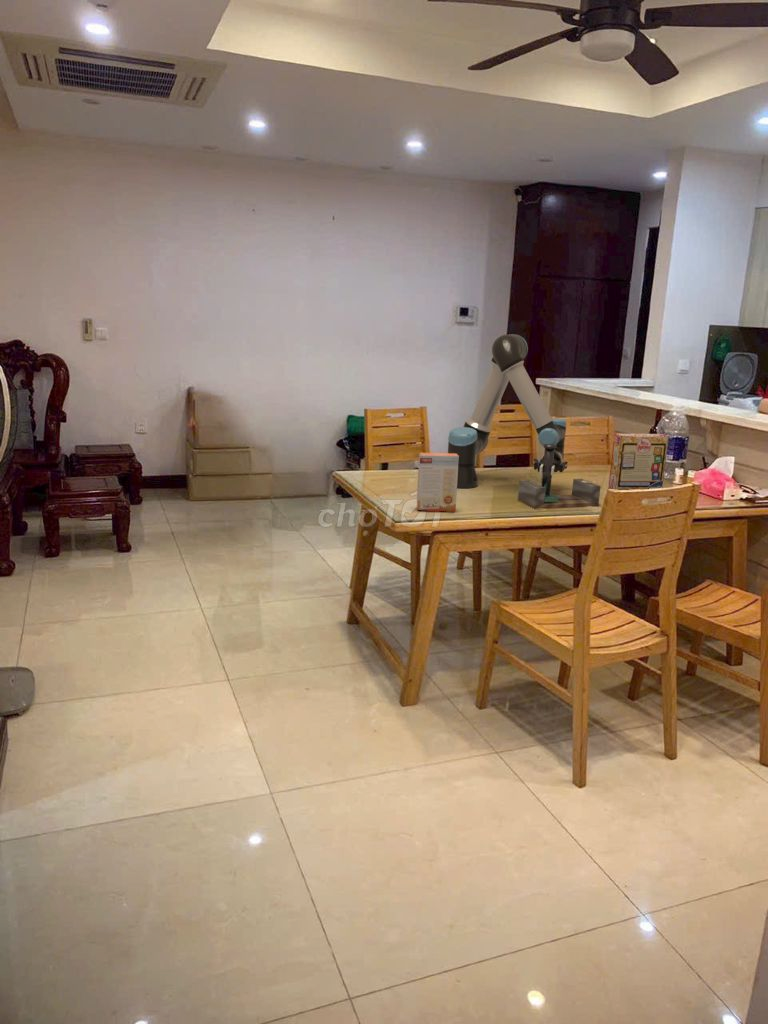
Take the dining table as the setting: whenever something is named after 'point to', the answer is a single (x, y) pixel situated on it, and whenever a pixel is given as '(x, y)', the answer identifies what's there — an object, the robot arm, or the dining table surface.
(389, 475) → the dining table surface
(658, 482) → the board game box
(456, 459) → the cracker box
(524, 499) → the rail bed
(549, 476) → the green pole stand
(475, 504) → the dining table surface
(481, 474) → the dining table surface
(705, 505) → the dining table surface
